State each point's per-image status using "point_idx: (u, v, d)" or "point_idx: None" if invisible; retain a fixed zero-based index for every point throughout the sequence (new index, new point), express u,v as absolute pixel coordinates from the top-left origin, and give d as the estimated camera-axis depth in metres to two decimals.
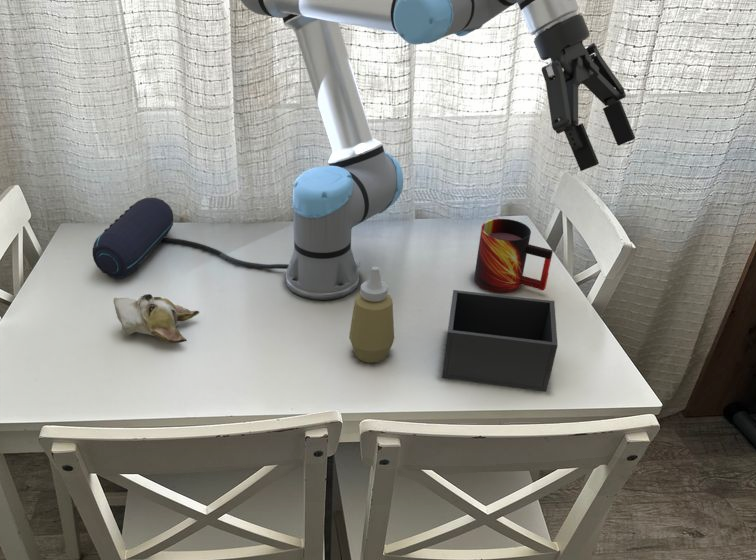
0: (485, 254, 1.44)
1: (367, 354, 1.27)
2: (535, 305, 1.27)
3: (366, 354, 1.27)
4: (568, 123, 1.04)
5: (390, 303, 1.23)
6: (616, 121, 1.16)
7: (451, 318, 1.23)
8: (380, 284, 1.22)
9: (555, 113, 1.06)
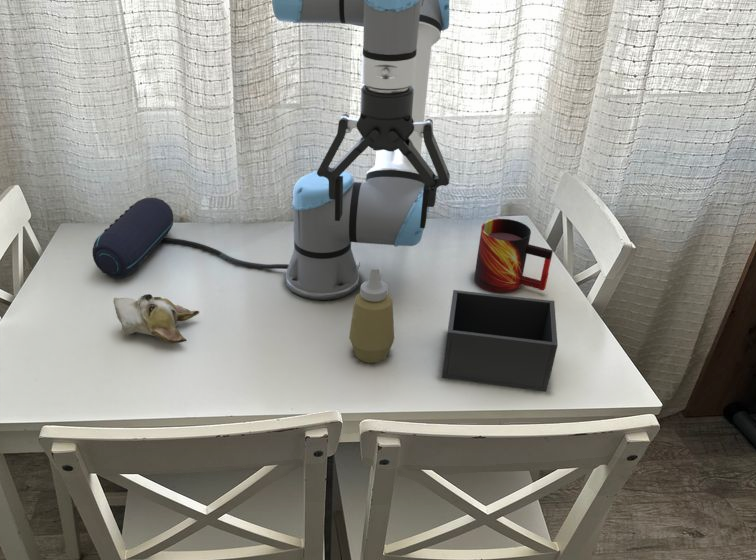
0: (485, 254, 1.44)
1: (367, 354, 1.27)
2: (535, 305, 1.27)
3: (366, 354, 1.27)
4: (318, 175, 1.12)
5: (390, 303, 1.23)
6: None
7: (451, 318, 1.23)
8: (380, 284, 1.22)
9: None
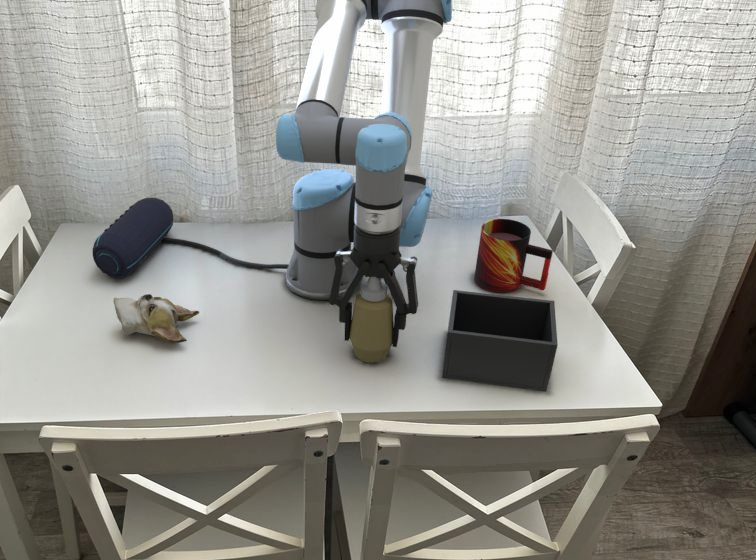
0: (485, 254, 1.44)
1: (367, 354, 1.27)
2: (535, 305, 1.27)
3: (366, 354, 1.27)
4: (330, 303, 1.25)
5: (390, 303, 1.23)
6: None
7: (451, 318, 1.23)
8: (380, 284, 1.22)
9: None
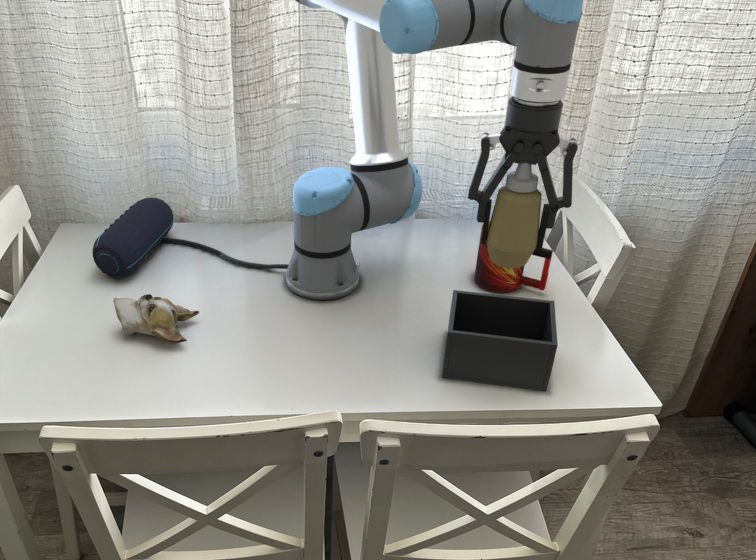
0: (485, 254, 1.44)
1: (509, 257, 1.12)
2: (535, 305, 1.27)
3: (508, 257, 1.12)
4: (470, 198, 1.11)
5: (540, 196, 1.08)
6: (540, 223, 1.12)
7: (451, 318, 1.23)
8: (531, 172, 1.07)
9: (471, 181, 1.11)
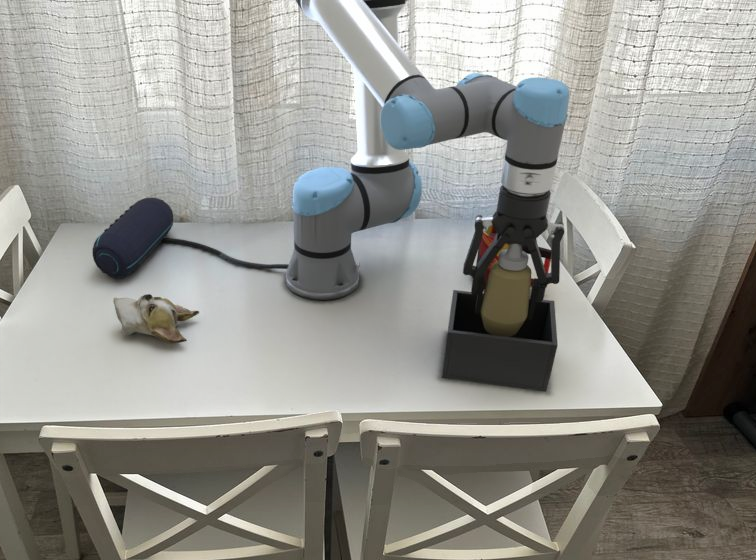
0: None
1: (501, 328, 1.20)
2: (535, 305, 1.27)
3: (500, 327, 1.20)
4: (464, 274, 1.19)
5: (530, 273, 1.16)
6: (531, 296, 1.20)
7: (451, 318, 1.23)
8: (521, 252, 1.15)
9: (466, 258, 1.19)
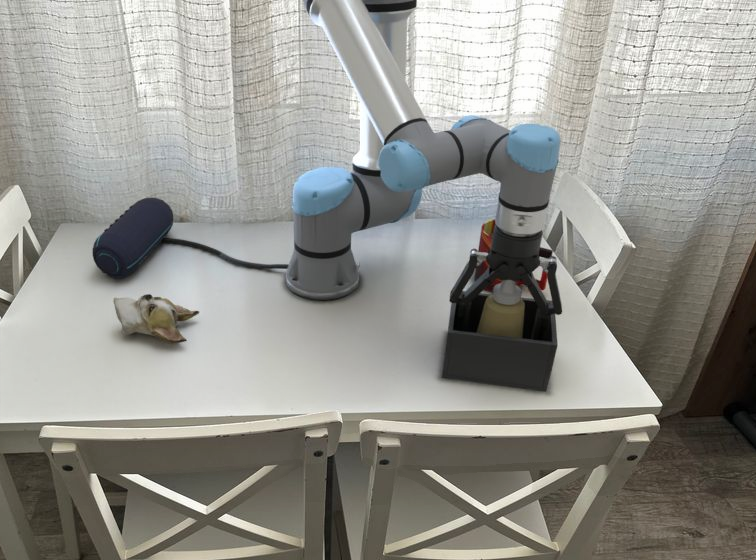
0: None
1: None
2: (535, 305, 1.27)
3: None
4: (450, 301, 1.22)
5: (523, 306, 1.20)
6: (534, 326, 1.23)
7: (451, 318, 1.23)
8: (515, 287, 1.19)
9: (454, 286, 1.22)
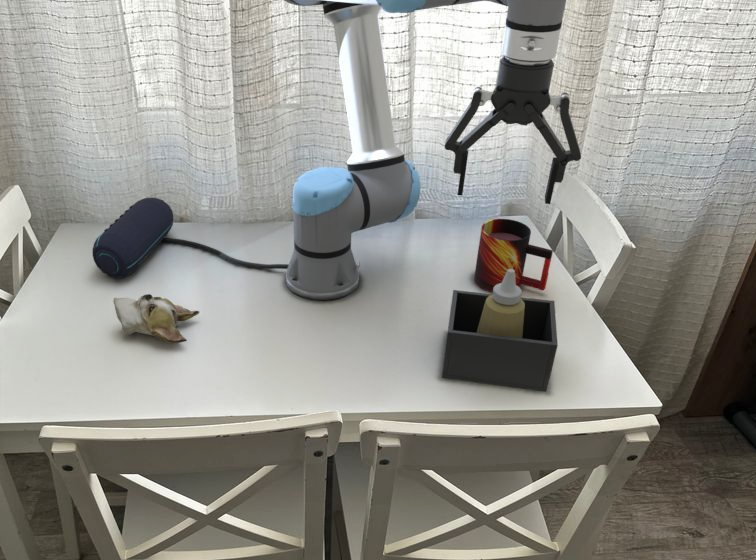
0: (485, 254, 1.44)
1: None
2: (535, 305, 1.27)
3: None
4: (445, 148, 1.11)
5: (523, 306, 1.20)
6: (549, 177, 1.12)
7: (451, 318, 1.23)
8: (515, 287, 1.19)
9: (451, 132, 1.11)
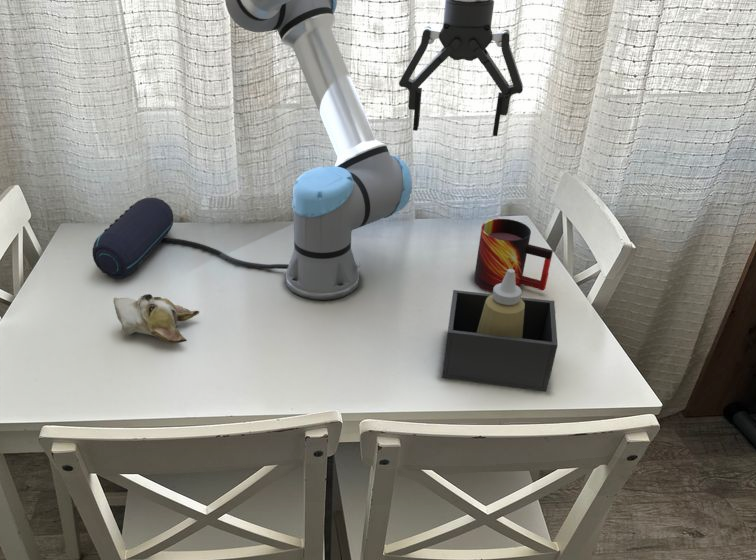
0: (485, 254, 1.44)
1: None
2: (535, 305, 1.27)
3: None
4: (400, 85, 1.21)
5: (523, 306, 1.20)
6: None
7: (451, 318, 1.23)
8: (515, 287, 1.19)
9: (405, 70, 1.21)
